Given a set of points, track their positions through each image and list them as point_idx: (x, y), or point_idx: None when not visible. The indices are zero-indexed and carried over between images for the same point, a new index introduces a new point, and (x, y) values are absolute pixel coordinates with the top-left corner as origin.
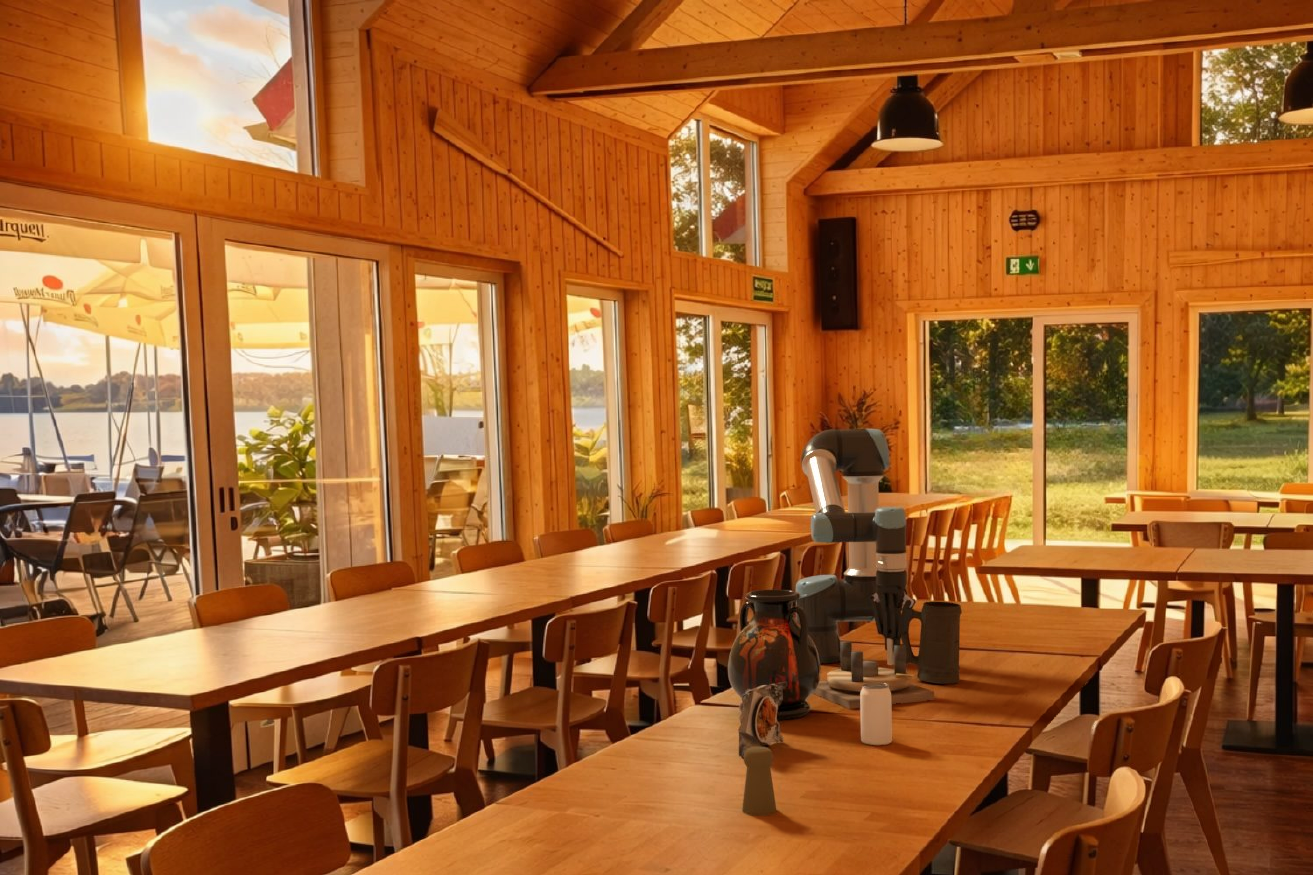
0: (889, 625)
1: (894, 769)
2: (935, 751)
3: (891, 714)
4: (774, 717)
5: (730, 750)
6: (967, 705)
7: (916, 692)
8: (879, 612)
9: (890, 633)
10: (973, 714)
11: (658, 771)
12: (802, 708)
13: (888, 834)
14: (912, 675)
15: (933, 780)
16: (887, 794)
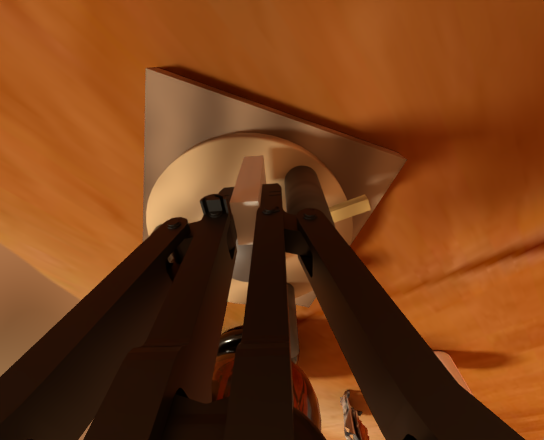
0: (225, 274)
1: (484, 388)
2: (509, 350)
3: (470, 390)
4: (362, 431)
5: (330, 410)
6: (496, 140)
7: (372, 195)
8: (122, 350)
9: (228, 233)
10: (527, 198)
11: (329, 435)
12: (296, 357)
13: (521, 433)
14: (367, 208)
15: (528, 389)
16: (498, 411)
